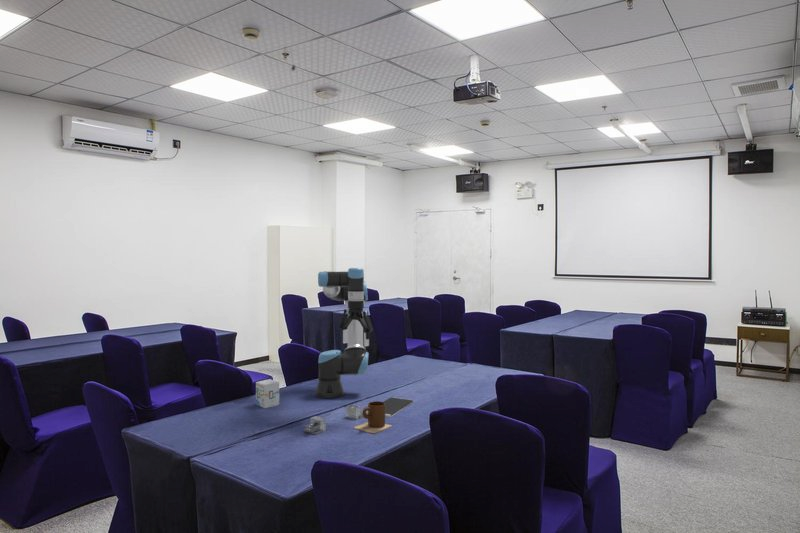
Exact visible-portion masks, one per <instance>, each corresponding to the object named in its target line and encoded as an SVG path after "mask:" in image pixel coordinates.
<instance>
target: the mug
mask: <svg viewBox="0 0 800 533" xmlns="http://www.w3.org/2000/svg"><path fill="white" fill-rule="evenodd" d="M366 411H368V414H366ZM361 413H362V414H363V417H362V418H363V419H366V420H367V422H368V425H369V426H370V427H374V428H378V427H383V426H384V425H385V424H386V417H385V403H384V401H379V400H378V401H370V402H368V403H367V406H366V407H364V408H363V410H362V412H361Z"/></svg>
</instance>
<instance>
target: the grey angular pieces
mask: <svg viewBox="0 0 800 533" xmlns="http://www.w3.org/2000/svg"><path fill="white" fill-rule="evenodd" d="M345 408H346V410H345V411H346V412H345V414H346V417H347V418H349V419H354V420H358V419H362V418H364V417H363V414H362V412H361V410H362V409H361V406H359V405H355V404H348V405H346V407H345ZM326 421H327V420H326V418H323V417H320V416H316V415H315V416H312V417H310V423H309V424H302V427H304V428H303V432H306V433H309V434H311V435H314V436H316V435H319V434H321V433H324V432H326V430H327V429H326V424H327V422H326Z"/></svg>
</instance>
